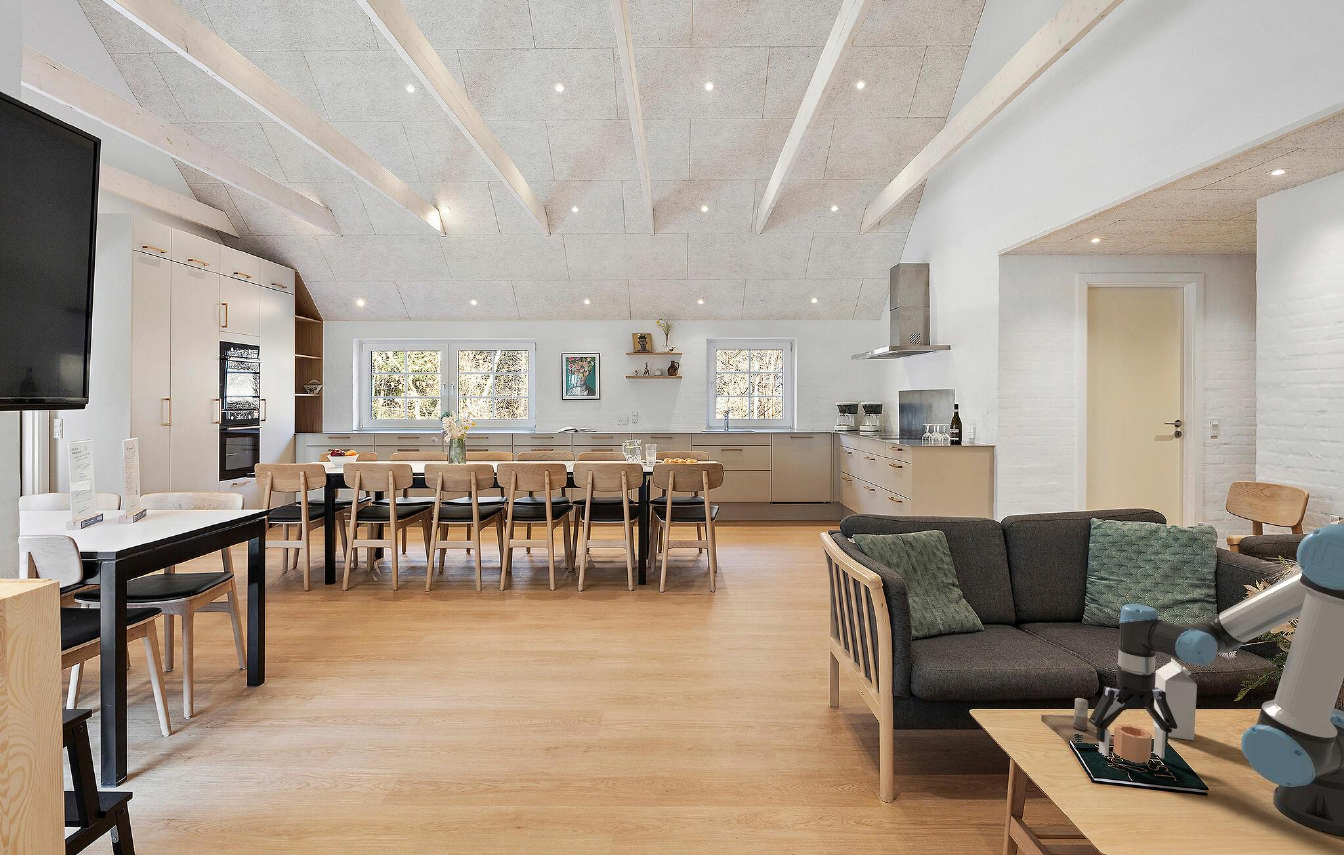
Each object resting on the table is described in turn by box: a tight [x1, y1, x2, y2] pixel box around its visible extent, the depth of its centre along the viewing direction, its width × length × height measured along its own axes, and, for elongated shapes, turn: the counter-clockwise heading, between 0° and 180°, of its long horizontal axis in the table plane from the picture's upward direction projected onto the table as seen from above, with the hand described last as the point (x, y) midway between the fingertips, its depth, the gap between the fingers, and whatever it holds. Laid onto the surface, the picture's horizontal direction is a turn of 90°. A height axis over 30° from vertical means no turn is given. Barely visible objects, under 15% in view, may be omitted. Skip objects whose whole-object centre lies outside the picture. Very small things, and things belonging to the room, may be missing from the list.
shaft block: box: [1040, 697, 1114, 745], centre depth 186 cm, size 16×12×9 cm
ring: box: [1112, 724, 1153, 763], centre depth 173 cm, size 7×7×7 cm
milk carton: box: [1152, 657, 1198, 741], centre depth 188 cm, size 7×7×19 cm
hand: (1131, 755), depth 173 cm, fingers open, 13 cm apart
